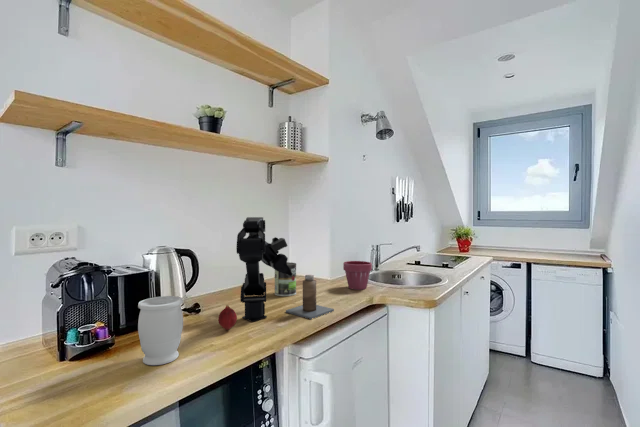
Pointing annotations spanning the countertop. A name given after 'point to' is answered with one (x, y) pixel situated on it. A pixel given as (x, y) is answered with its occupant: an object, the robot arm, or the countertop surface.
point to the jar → (160, 328)
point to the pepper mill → (309, 293)
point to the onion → (227, 318)
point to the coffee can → (286, 282)
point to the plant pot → (357, 274)
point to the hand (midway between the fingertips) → (287, 272)
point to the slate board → (299, 312)
